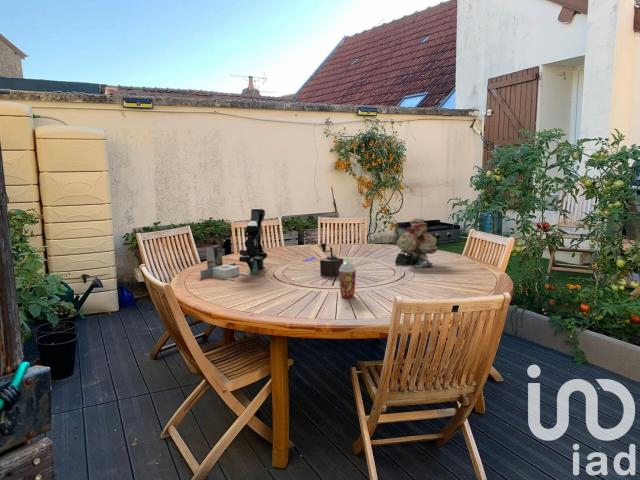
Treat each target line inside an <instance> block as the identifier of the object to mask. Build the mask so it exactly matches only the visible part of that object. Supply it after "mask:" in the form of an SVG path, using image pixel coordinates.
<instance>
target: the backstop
mask: <svg viewBox="0 0 640 480" xmlns="http://www.w3.org/2000/svg"><path fill="white" fill-rule="evenodd" d="M236 264H237V263H236V262H230V263H226V264H223V265H232V266H237V265H236ZM223 265H221V266H223ZM216 267H219V266H216ZM213 268H215V267H212V268H208V269H207V268H204V269H200V279H203V280H204V279H207V278H211V277H212V278H218V279H221V280H229V281H231V282H232V281H233V282H234V281H235V278H232V277H229V278H226V277H221V276H215V275H213ZM238 276H246V277H251V274H250V273H249V274H248V273H242V272H239V275H238Z"/></svg>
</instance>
